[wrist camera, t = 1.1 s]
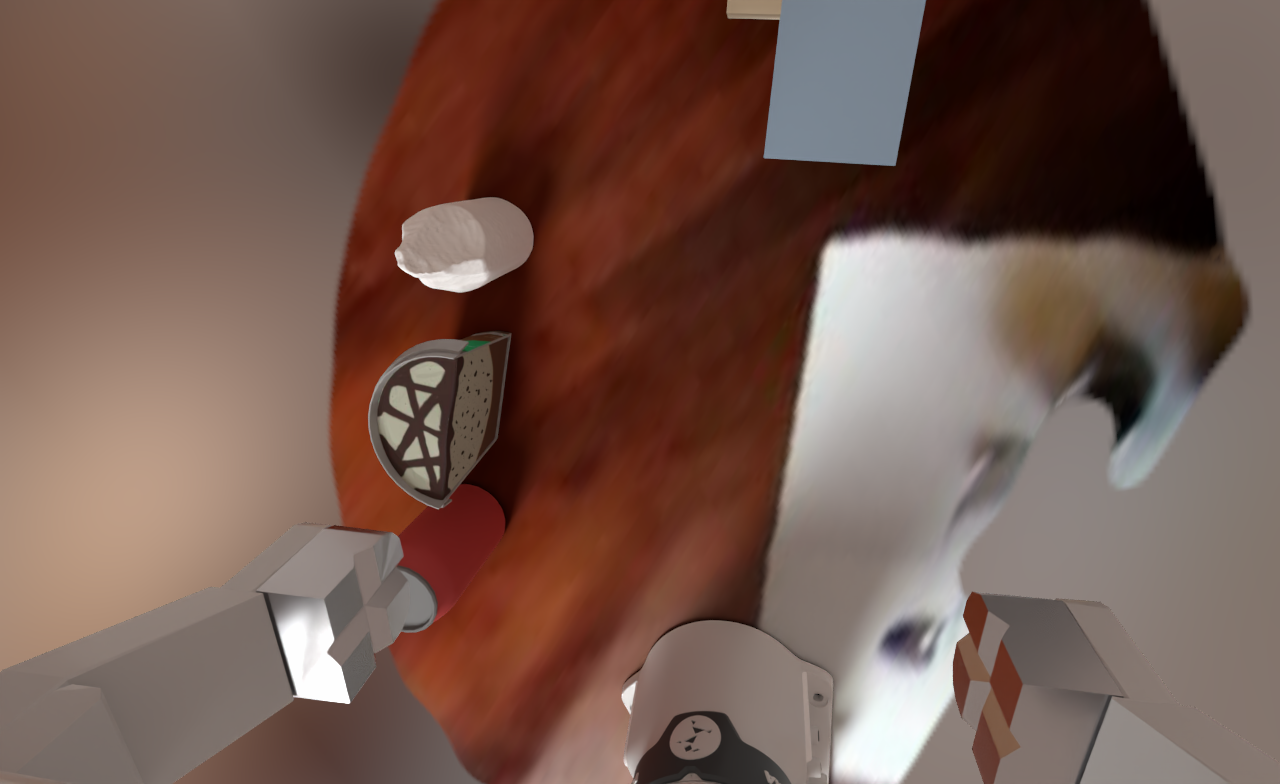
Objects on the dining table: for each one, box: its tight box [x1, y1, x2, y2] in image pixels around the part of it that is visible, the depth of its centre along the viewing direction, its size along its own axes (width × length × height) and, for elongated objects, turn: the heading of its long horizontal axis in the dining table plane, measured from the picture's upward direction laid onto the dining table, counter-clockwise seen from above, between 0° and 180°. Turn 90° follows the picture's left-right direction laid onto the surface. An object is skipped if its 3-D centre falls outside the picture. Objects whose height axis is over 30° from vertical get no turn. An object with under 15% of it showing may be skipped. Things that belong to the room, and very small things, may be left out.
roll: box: [395, 197, 534, 292], centre depth 42 cm, size 6×12×6 cm
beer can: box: [397, 484, 505, 632], centre depth 51 cm, size 7×7×12 cm
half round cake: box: [368, 330, 511, 509], centre depth 47 cm, size 12×6×10 cm, turn 168°
